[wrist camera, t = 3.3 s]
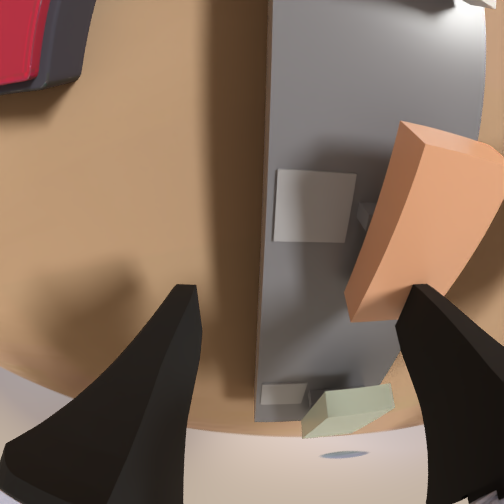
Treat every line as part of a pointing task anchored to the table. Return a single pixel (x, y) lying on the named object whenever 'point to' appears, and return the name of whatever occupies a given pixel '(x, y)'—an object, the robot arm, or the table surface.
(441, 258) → the rocker middle
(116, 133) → the table surface
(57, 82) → the calculator
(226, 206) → the table surface
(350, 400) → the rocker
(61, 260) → the table surface
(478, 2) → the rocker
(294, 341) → the power strip
